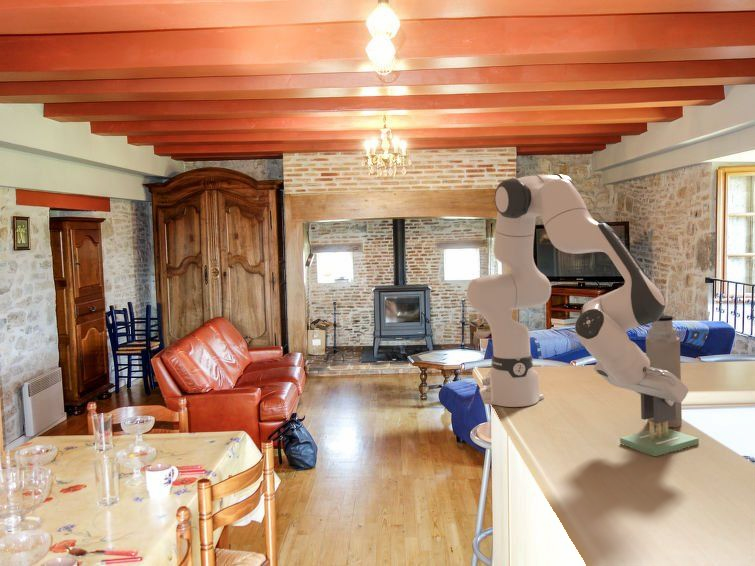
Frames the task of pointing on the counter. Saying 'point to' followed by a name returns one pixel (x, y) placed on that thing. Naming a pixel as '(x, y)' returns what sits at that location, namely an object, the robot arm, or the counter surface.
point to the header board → (659, 440)
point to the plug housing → (656, 409)
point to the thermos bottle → (665, 355)
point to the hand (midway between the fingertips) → (660, 400)
